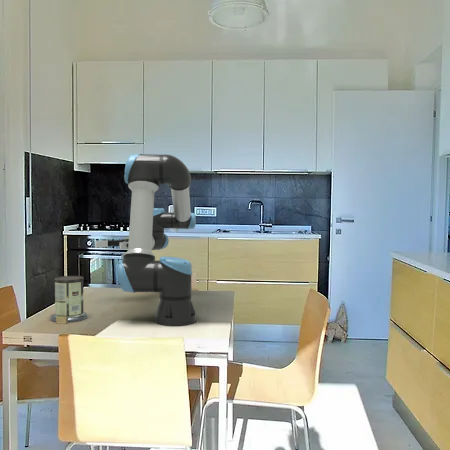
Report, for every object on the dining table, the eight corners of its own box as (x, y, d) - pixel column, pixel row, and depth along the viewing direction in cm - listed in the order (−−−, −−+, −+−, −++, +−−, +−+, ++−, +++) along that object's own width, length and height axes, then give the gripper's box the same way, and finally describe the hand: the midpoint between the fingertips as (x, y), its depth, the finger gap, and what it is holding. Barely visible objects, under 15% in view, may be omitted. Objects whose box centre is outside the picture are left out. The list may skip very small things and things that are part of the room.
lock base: (60, 312, 182) (59, 307, 182) (93, 313, 181) (93, 307, 181) (43, 323, 166) (43, 317, 166) (79, 323, 165) (79, 317, 165)
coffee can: (67, 311, 180) (67, 275, 180) (89, 313, 177) (89, 276, 176) (48, 317, 171) (48, 278, 170) (71, 319, 167) (71, 280, 166)
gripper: (164, 252, 202) (130, 255, 184) (121, 249, 215) (86, 252, 197) (164, 235, 202) (131, 236, 184) (121, 233, 215) (86, 234, 196)
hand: (107, 245), depth 190 cm, fingers open, 13 cm apart
